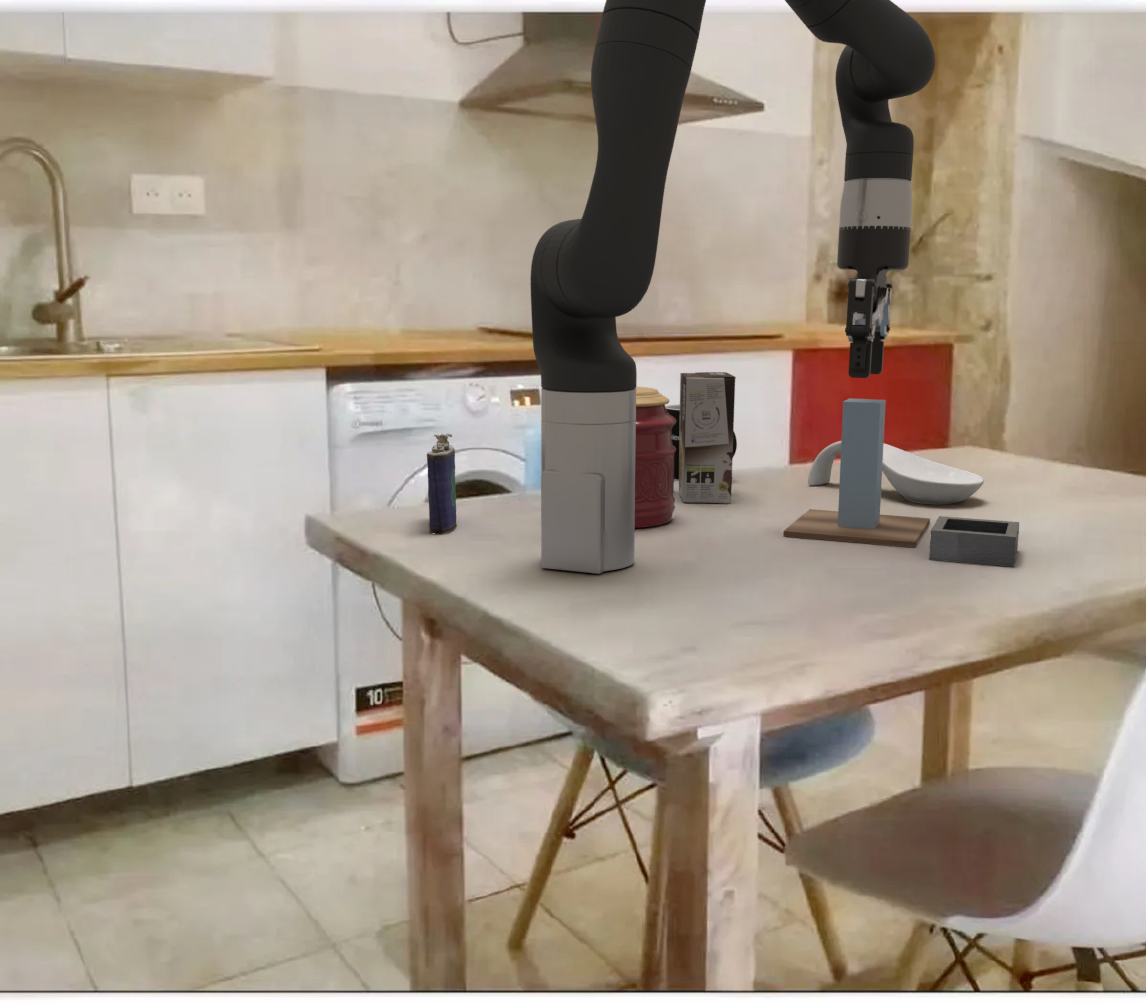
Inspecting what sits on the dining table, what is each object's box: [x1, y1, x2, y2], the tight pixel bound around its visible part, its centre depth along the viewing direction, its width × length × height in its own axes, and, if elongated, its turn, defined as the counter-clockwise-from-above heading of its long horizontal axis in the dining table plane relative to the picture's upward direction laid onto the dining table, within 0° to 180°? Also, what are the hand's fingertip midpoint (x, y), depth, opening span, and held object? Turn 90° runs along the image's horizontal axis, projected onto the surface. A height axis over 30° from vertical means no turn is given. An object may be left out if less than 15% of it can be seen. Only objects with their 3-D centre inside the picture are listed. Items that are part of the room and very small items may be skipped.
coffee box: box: [678, 371, 737, 504], centre depth 150 cm, size 9×6×16 cm
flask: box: [426, 433, 458, 535], centre depth 132 cm, size 9×3×11 cm, turn 1°
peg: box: [837, 398, 887, 529], centre depth 130 cm, size 4×4×14 cm
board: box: [782, 508, 931, 549], centre depth 131 cm, size 14×14×1 cm
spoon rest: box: [807, 440, 985, 505], centre depth 153 cm, size 24×12×7 cm, turn 47°
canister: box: [635, 386, 676, 529], centre depth 135 cm, size 13×13×18 cm
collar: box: [928, 515, 1020, 568], centre depth 119 cm, size 8×8×3 cm
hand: (865, 375), depth 128 cm, fingers open, 8 cm apart
